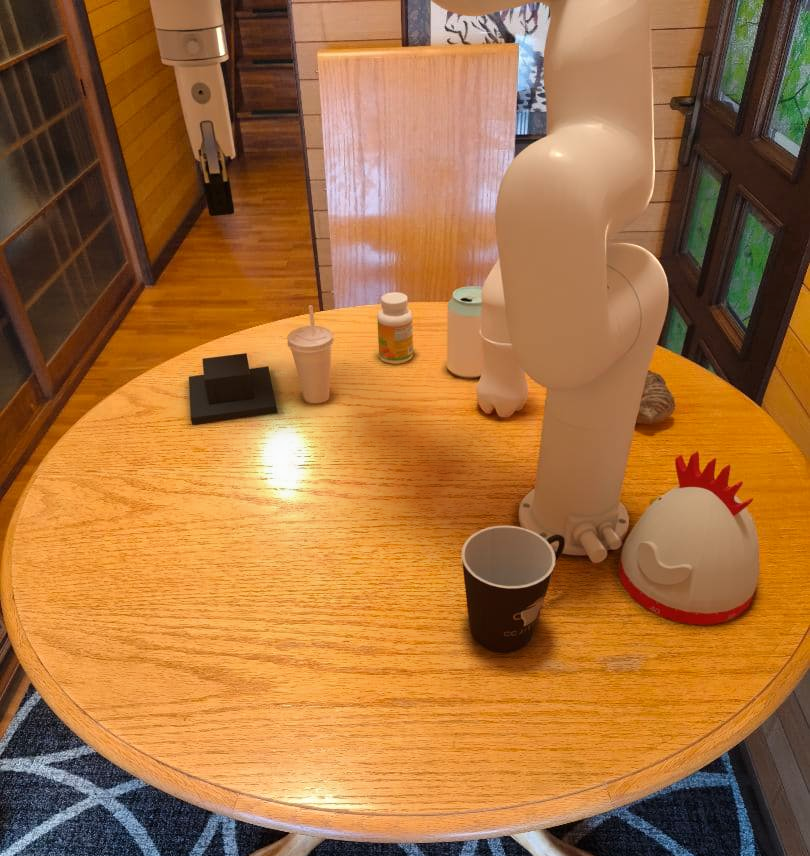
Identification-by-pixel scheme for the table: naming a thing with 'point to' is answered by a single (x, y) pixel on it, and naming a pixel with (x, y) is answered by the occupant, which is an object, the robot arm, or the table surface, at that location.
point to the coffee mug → (507, 584)
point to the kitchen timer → (693, 549)
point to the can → (465, 332)
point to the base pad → (234, 409)
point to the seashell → (655, 400)
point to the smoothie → (312, 359)
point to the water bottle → (498, 354)
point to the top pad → (227, 378)
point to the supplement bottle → (395, 329)
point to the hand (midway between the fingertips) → (221, 212)
